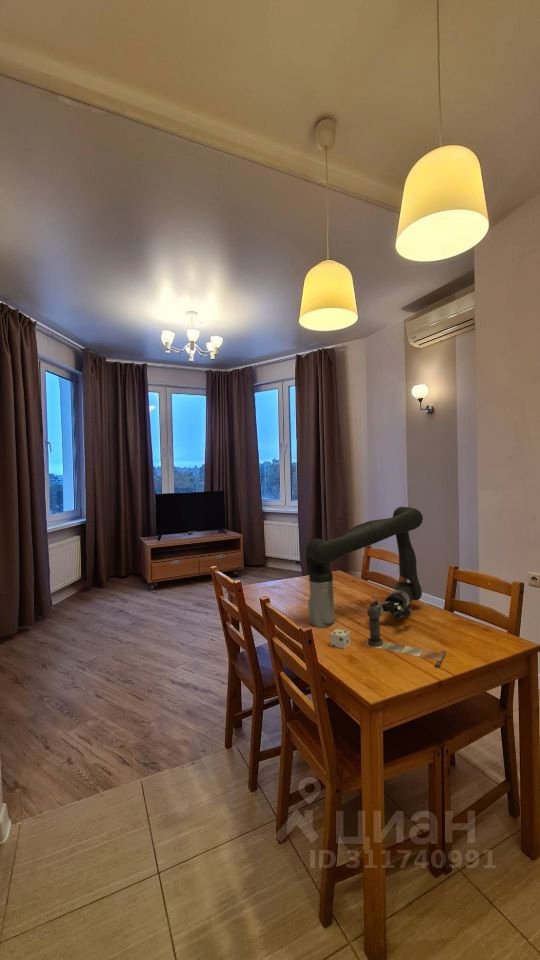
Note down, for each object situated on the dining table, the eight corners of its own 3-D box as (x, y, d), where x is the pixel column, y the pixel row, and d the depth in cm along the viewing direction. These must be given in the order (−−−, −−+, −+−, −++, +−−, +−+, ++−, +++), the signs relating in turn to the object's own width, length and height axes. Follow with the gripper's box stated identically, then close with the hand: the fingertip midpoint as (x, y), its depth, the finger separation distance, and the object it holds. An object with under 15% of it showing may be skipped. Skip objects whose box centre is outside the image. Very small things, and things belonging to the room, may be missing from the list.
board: (361, 650, 127) (360, 648, 127) (372, 638, 136) (372, 636, 136) (439, 667, 114) (439, 664, 114) (446, 653, 123) (446, 650, 123)
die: (330, 648, 130) (329, 633, 130) (336, 643, 134) (336, 628, 134) (344, 652, 127) (344, 636, 127) (350, 646, 131) (350, 631, 131)
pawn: (366, 644, 130) (364, 607, 130) (370, 639, 134) (369, 603, 134) (380, 647, 127) (378, 609, 127) (384, 642, 131) (383, 605, 131)
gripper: (379, 590, 156) (365, 601, 143) (415, 594, 149) (404, 607, 135) (380, 608, 156) (365, 621, 143) (416, 614, 149) (405, 628, 135)
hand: (384, 614), depth 139 cm, fingers open, 8 cm apart
